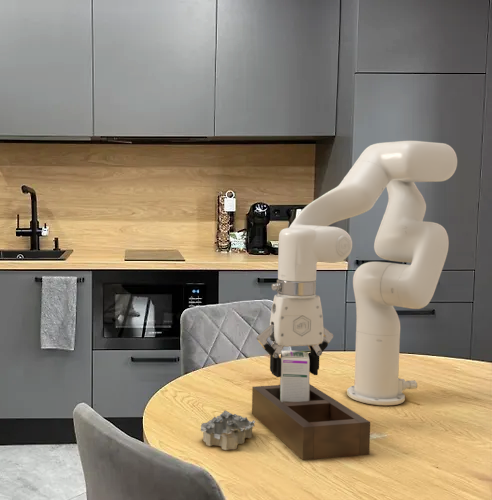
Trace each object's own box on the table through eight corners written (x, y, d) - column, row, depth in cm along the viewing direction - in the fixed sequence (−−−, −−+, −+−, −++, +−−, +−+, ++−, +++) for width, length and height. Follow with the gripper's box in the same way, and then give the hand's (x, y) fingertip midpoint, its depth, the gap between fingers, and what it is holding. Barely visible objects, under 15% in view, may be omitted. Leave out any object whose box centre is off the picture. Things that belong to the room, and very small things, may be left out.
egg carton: (231, 453, 112) (231, 431, 111) (196, 443, 116) (196, 422, 116) (258, 435, 120) (259, 415, 120) (225, 426, 125) (225, 406, 124)
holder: (307, 410, 135) (308, 383, 134) (369, 454, 112) (370, 422, 111) (251, 413, 132) (252, 386, 132) (302, 460, 109) (303, 427, 108)
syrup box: (309, 428, 124) (311, 357, 123) (279, 426, 125) (281, 356, 124) (307, 418, 130) (309, 350, 128) (278, 416, 131) (280, 349, 129)
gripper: (263, 292, 120) (261, 382, 121) (345, 290, 123) (342, 377, 125) (249, 287, 127) (247, 371, 128) (326, 285, 130) (324, 367, 132)
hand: (294, 373), depth 126 cm, fingers closed on syrup box, 7 cm apart
